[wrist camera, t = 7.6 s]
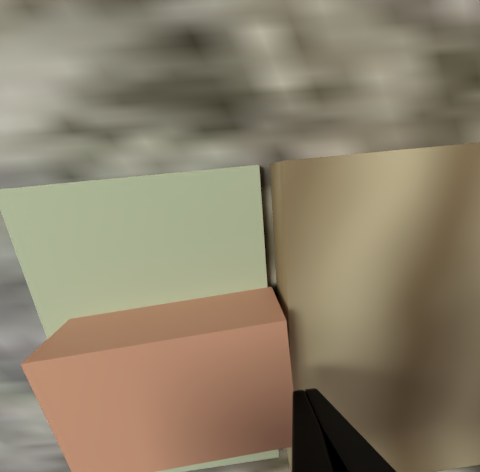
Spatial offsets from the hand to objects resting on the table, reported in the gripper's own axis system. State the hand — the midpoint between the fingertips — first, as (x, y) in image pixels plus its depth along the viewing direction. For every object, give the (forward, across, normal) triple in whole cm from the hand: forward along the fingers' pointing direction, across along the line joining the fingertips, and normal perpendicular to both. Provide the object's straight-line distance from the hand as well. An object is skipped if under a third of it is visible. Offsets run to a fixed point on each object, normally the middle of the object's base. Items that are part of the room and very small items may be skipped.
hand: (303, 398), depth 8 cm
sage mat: (+4, +6, 0) cm, 7 cm away
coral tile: (+3, +5, 0) cm, 6 cm away
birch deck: (+4, -6, 0) cm, 7 cm away
